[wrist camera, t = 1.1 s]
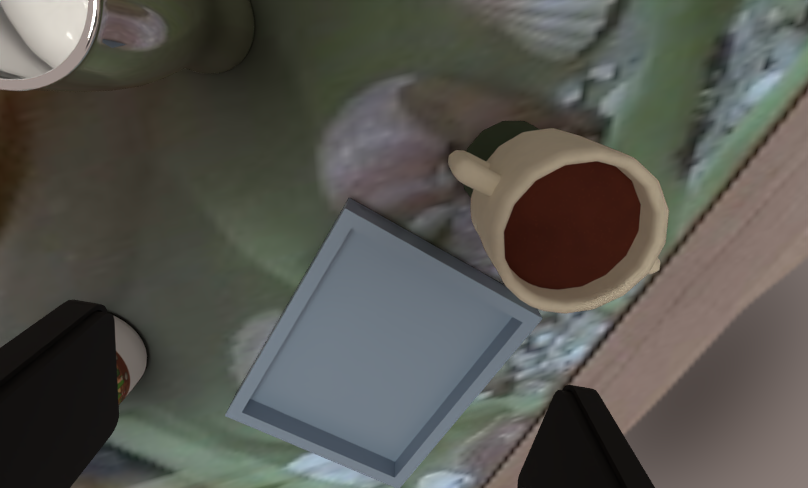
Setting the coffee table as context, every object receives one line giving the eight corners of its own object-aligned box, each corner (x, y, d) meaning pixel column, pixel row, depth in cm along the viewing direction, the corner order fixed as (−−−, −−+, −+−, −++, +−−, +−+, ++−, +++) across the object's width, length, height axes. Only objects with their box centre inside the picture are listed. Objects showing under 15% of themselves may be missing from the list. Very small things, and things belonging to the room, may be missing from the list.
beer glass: (248, -57, 24) (48, -217, 10) (273, 76, 27) (139, 88, 13) (127, -45, 25) (-229, -187, 11) (163, 86, 27) (-84, 108, 13)
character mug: (410, 178, 30) (417, 256, 18) (461, 78, 27) (511, 88, 15) (544, 244, 31) (633, 354, 19) (603, 155, 29) (747, 220, 17)
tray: (349, 197, 30) (344, 208, 28) (533, 301, 33) (542, 318, 31) (235, 394, 36) (224, 415, 34) (398, 465, 40) (398, 489, 37)
